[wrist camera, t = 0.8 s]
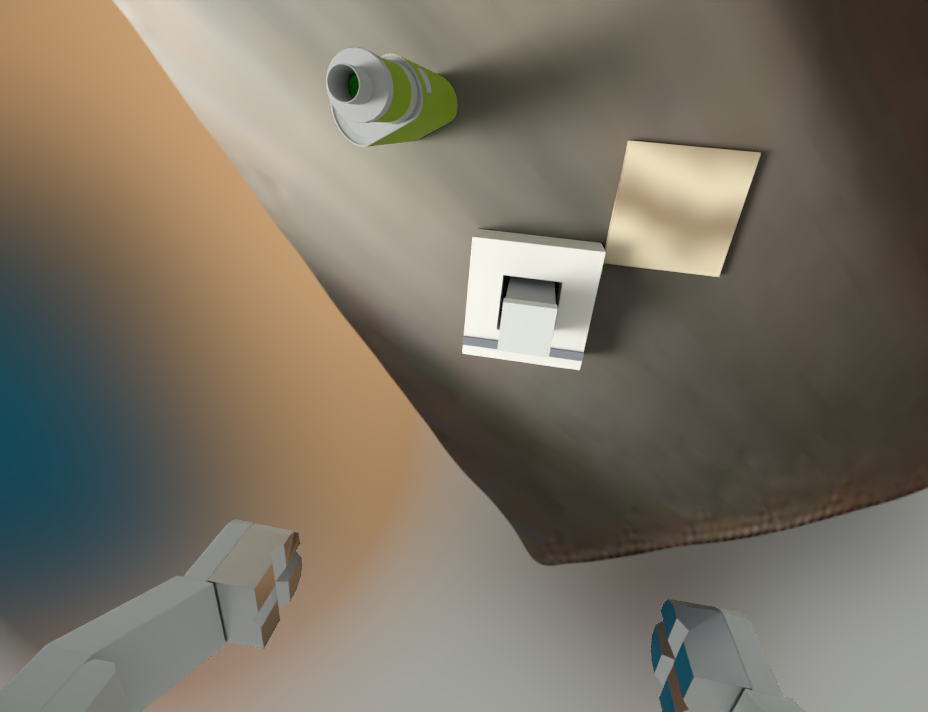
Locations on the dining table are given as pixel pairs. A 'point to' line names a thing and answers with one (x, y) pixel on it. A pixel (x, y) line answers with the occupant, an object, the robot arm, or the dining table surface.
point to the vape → (386, 98)
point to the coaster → (678, 207)
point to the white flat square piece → (535, 260)
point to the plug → (528, 317)
